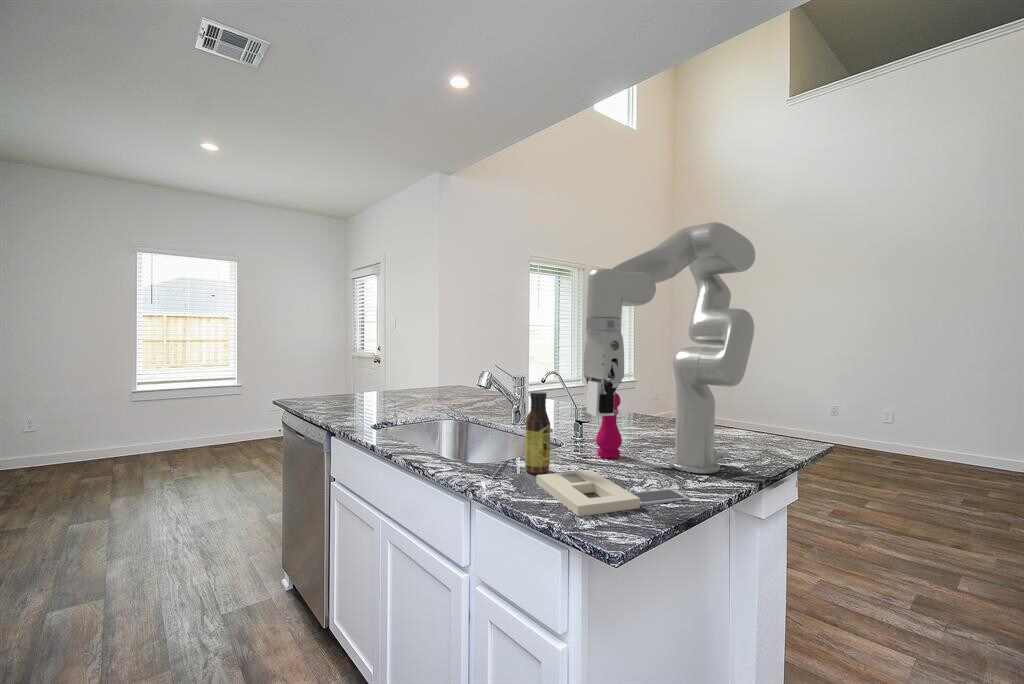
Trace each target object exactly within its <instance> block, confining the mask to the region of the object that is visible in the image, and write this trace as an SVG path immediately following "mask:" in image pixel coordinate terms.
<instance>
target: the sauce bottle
mask: <svg viewBox="0 0 1024 684" xmlns="http://www.w3.org/2000/svg"><path fill="white" fill-rule="evenodd" d="M546 403H547V392H545V391H531V392H530V411H529V412H528V414H527V416H526V418H525V419H526V420H525V431H524V432H525V434H524V435H525V437H524V438H525V440H524V441H525V442H524V443H525V444H524V464H525V465H524V466H525V467H524V468H525V469H524V470H525V472H527V473H530V474H535V475H542V474H547V473H548V472H549V471H550V460H551V459H550V458H551V455H550V454H551V421H550V419H549V416H548V413H547V410H546V409H547V407H546V406H547V405H546Z"/></svg>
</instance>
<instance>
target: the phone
mask: <svg viewBox="0 0 1024 684" xmlns="http://www.w3.org/2000/svg"><path fill="white" fill-rule="evenodd" d="M631 493H632V494H633V495H635V496H637V497H639V498H640V507H641V506H649V505H657V504H659V505H660V504H665V503H666V502H668V503H674V502H673V501H676V502H682V501H681V500H685V501H689V500H690V497H689V496H686V495H684V494H683V493H680V492H678V491H676V490H674V489H673V488H669V489H668V488H667V489H657V490H648V491H647V490H646V491H638V492H631ZM688 499H689V500H688ZM666 504H667V503H666Z"/></svg>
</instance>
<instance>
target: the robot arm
mask: <svg viewBox="0 0 1024 684" xmlns="http://www.w3.org/2000/svg"><path fill="white" fill-rule="evenodd" d="M755 260H756V249H755V247H754V245H753V243H752V242H751V240H750V239H748V238H747V237H746V236H744V235H743V234H741V233H740V232H739V231H737V230H736V229H733V227H730V226H729V225H727V224H725V223H722V222H718V221H713V222H708V223H702V224H696V225H691V226H687V227H683V228H681V229H678V230H677V231H676V232H674V233H673V234H671V235H670V236H668V237H667V238H666V239H665V240H663V241H662V242H660V243H659V244H658V245H656V246H654V247H653V248H651V249H649V250H647V251H644V252H642V253H639V254H638V255H636V256H634V257H631V258H629V259H627V260H625V261H622V262H621V263H619V264H616V265H615V266H613V267H612V268H598V269H593V270H591V271H590V272H589V273H588V277H587V293H586V294H587V297H586V298H587V301H586V319H585V320H586V321H585V323H586V324H585V325H586V326H585V333H586V339H585V345H584V353H583V355H584V356H583V377H584V378H585V381H586V384H587V385H588V381H596V380H601V391H602V394H600V400H599V412H600V413H613V411H614V395H615V394H616V393H617V389H618V387H619V386H620V385H621V383H622V382H623V379H624V377H625V348H624V346H625V344H624V337H623V333H622V325H623V324H622V323H623V320H622V319H623V307H637V306H638V307H640V306H644V305H647V304H648V303H650V302H652V300H653V298H655V295H656V292H657V286H656V284H658V283H662V282H665V281H667V280H670V279H671V280H672V279H673V278H674V277H676V276H677V275H678V274H680V273H681V272H682V271H683V270H685V268H687V267H688V268H689V270H690V272H691V274H692V275H691V276H692V277H693V279H694V282H695V285H696V290H697V291H696V297H695V298H696V299H695V302H694V307H693V309H692V313H691V314H692V315H691V318H690V321H689V325H688V336H689V337H688V338H689V339H690V340H691V341H692V342H693V343H695V344H698V345H708V347H707V346H687V347H683V348H681V349H679V350H678V351H677V352H676V353H675V355H674V357H673V360H672V369H673V374H674V379H675V390H676V391H675V393H676V395H675V396H676V398H675V400H676V401H675V404H676V405H675V432H674V433H675V434H674V435H675V442H674V456H673V457H670V458H669V459H668V465H669V467H671V468H673V469H676V470H679V471H682V472H685V471H686V473H691V472H692V473H693V474H715V473H718V472H720V470H721V465H720V464H719V463H718V461H719V460H720V459H727V458H728V457H729V454H728V452H727V451H726V450H722V451H717V449H716V450H715V424H716V423H715V420H716V415H715V414H716V400H715V397H714V394H713V392H712V390H711V388H710V386H719V387H729V388H730V387H735V386H738V385H739V384H741V382H742V380H743V378H744V376H745V373H746V369H747V366H748V362H749V358H750V357H749V356H750V353H751V349H752V344H753V341H754V340H753V339H754V334H755V323H754V318H753V316H752V315H751V313H750V312H749V311H747V310H746V309H742V308H737V307H736V308H732V307H730V304H731V299H732V293H731V290H730V289H729V287H728V285H727V283H726V282H725V281H724V280H723V279H722V277H721V276H720V275H725V274H734V273H737V274H738V273H742V272H746V271H748V270H750V269H751V267H753V265H754V264H755ZM710 346H722V347H710ZM606 383H608V385H607V386H606ZM586 389H587V391H588V386H587V387H586Z"/></svg>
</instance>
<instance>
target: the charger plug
mask: <svg viewBox="0 0 1024 684" xmlns="http://www.w3.org/2000/svg"><path fill="white" fill-rule="evenodd" d="M607 385H608V383H606V386H607ZM587 387H588V390H587V393H586V394H587V395H586V396H587V399H586V413H587V414H588V415H589V414H590V415H592V416H595V417H602V416H614V411H613V413H600V412H599V400H600V394H602V391H601V380H596V381H588V384H587Z"/></svg>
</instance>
